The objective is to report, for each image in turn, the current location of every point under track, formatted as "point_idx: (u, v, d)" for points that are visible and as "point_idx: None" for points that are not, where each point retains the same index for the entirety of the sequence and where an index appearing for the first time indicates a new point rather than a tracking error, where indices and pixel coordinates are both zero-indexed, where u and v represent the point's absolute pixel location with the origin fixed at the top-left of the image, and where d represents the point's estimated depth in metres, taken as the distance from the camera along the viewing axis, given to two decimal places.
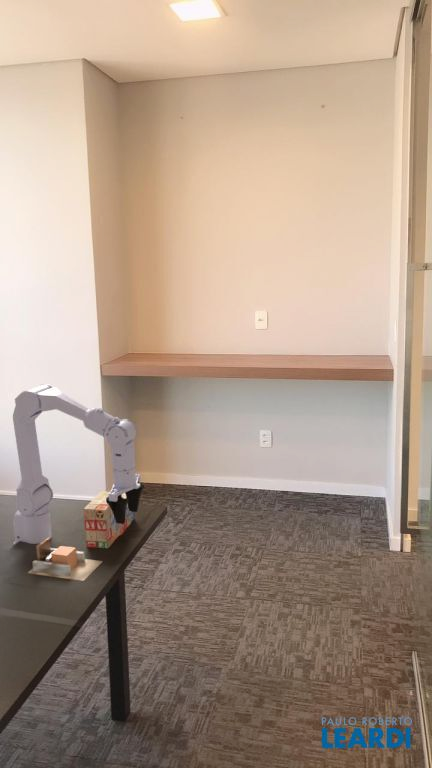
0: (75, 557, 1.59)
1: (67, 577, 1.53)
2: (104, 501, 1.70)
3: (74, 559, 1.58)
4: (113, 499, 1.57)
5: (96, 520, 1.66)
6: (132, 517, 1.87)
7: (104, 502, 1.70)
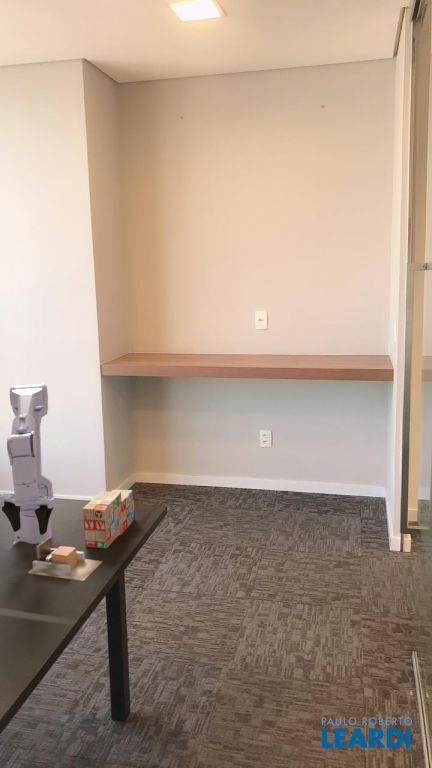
0: (75, 557, 1.59)
1: (67, 577, 1.53)
2: (103, 501, 1.70)
3: (74, 559, 1.58)
4: None
5: (95, 520, 1.67)
6: (133, 517, 1.87)
7: (103, 502, 1.70)
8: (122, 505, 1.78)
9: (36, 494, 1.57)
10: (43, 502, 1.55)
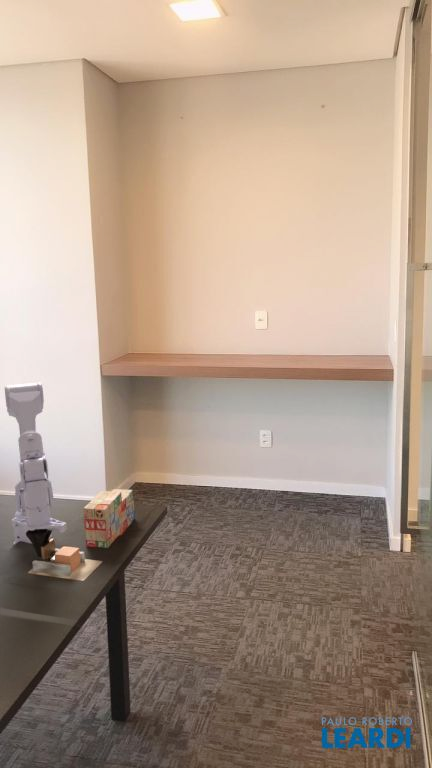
0: (78, 557, 1.58)
1: (67, 577, 1.53)
2: (104, 501, 1.71)
3: (77, 559, 1.58)
4: None
5: (95, 519, 1.67)
6: (133, 517, 1.87)
7: (104, 502, 1.70)
8: (122, 505, 1.79)
9: (48, 518, 1.57)
10: (55, 526, 1.55)
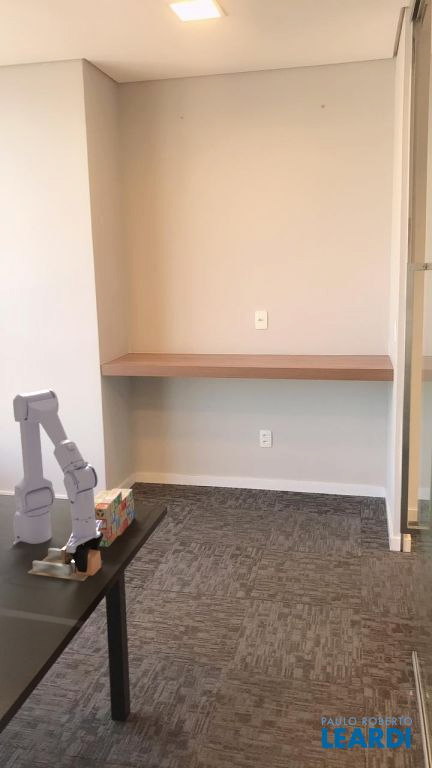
0: (99, 560, 1.57)
1: (67, 577, 1.53)
2: (104, 500, 1.71)
3: (98, 562, 1.56)
4: (71, 550, 1.48)
5: (96, 519, 1.67)
6: (133, 516, 1.87)
7: (104, 501, 1.71)
8: (122, 504, 1.79)
9: None
10: (99, 524, 1.59)
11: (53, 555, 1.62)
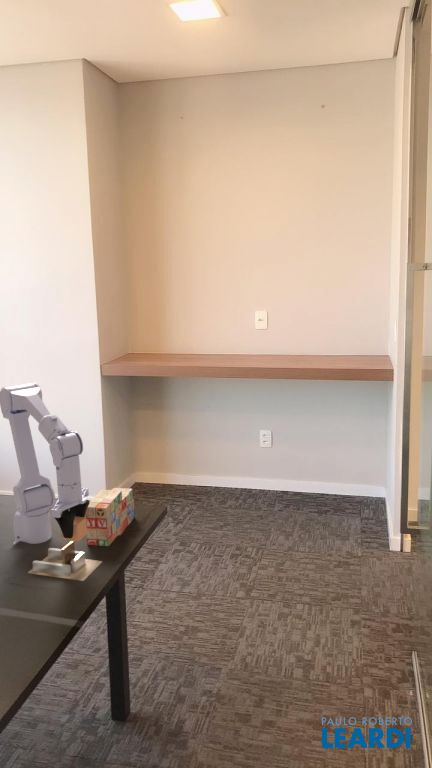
0: (85, 527, 1.58)
1: (67, 577, 1.53)
2: (105, 499, 1.72)
3: (84, 528, 1.58)
4: (56, 515, 1.49)
5: (96, 518, 1.68)
6: (133, 515, 1.88)
7: (105, 500, 1.71)
8: (123, 503, 1.80)
9: None
10: (85, 492, 1.61)
11: (53, 555, 1.62)
